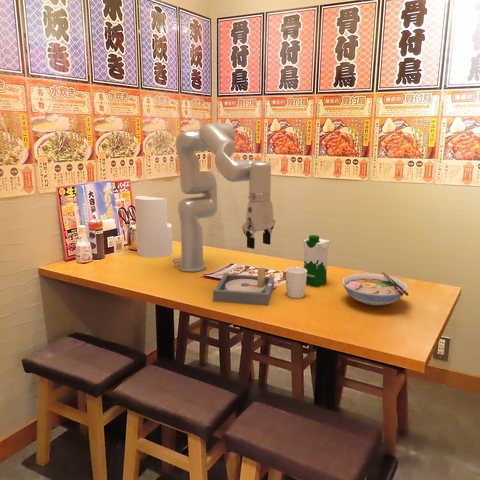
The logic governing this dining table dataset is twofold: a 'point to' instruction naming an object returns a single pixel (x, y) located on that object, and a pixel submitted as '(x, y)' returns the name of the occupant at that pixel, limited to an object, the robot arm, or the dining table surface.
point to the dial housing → (242, 296)
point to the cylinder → (152, 227)
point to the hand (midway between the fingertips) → (258, 245)
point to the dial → (248, 283)
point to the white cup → (296, 281)
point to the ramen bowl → (374, 288)
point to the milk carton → (316, 260)
